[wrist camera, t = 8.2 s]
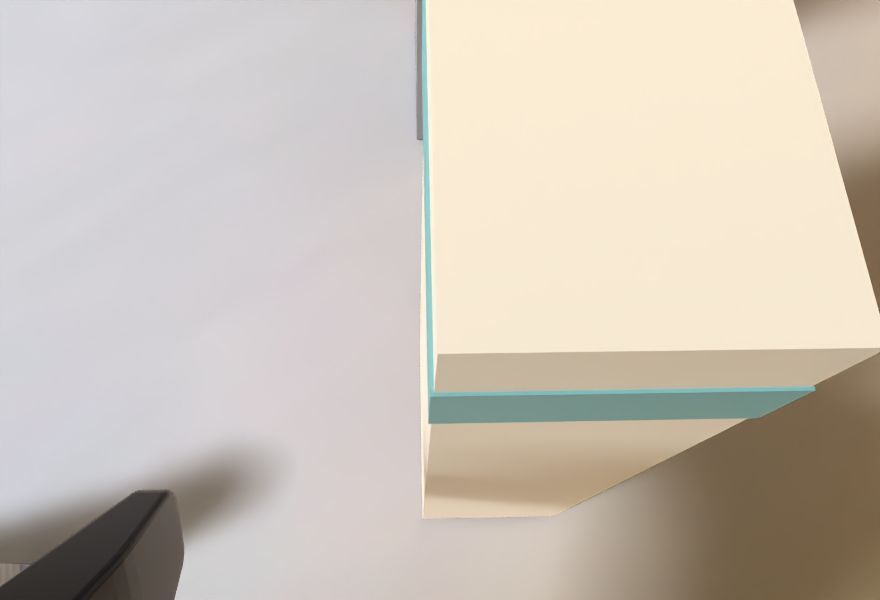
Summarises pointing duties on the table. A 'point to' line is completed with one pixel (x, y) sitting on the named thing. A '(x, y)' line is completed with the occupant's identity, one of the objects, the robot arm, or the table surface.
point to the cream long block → (620, 241)
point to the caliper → (10, 571)
